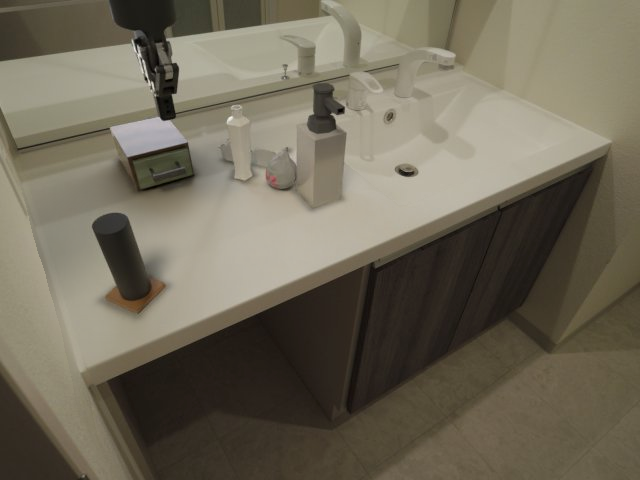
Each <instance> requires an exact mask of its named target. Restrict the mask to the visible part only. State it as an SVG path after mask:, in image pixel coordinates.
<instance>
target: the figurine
mask: <svg viewBox="0 0 640 480" xmlns="http://www.w3.org/2000/svg"><path fill="white" fill-rule="evenodd" d="M296 168H297V163H295V161H294V160H293V159H292V158H291V157H290V154H289V152H288V151H287V149H286V150H285V149H281V150H280V151H279V152H277V153H276V155H275V156H274V158H273V159H272V160H270V161H269V163H268V165H267V167H265V179H266V181H267V182H268V183H269V184H270V185H271V187H274V188H276V189H278V190H279V189H280V190H283V189H288V188H290V187H292V186H293V185H294V184H296Z"/></svg>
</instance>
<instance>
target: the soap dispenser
mask: <svg viewBox="0 0 640 480" xmlns="http://www.w3.org/2000/svg"><path fill="white" fill-rule="evenodd" d="M312 90H313V100H312V101H313V103H312V111H313V114H310V115H308V118H307V122H302V123H298V124H296V166H297V168H296V181H295V184H296V185H295V187H296V189H295V192H297V194H298V195H299V196H300V197H301V198H302V199H303V200H304V201H305V202H306V203H307V204H308V205H309V207H311V209H315V208H318V207H320V206H323V205H327V204H330V203H333V202H336V201H340V200H341V199H342V188H343V187H342V186H343V179H344V166H345V155H346V145H347V133H348V132H347V131H346V130H344V129H343V128H342V127H340V126H339V125H338V124H337V120H336V118H335V116H341V115H345V112H346V106H344V105H343V104H342V103H340V102H339V101H337V100H335V99H334V92H335V86H334V85H333V84H331V83H328V82H318V83H316V84H312ZM332 114H334V115H335V116H334V115H332Z"/></svg>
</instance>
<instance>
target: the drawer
mask: <svg viewBox="0 0 640 480" xmlns="http://www.w3.org/2000/svg"><path fill="white" fill-rule="evenodd" d="M132 163H133V166H134V170H135V173H136V176H137V180H138V183H139V186H140V188H141V189H142V190H145V189H144V188H146V189H148V188H147V187H149V188H152V187H151V186H153V187H156V186H159V185H158V184H160V185H163V184H166V183H165V182H167V183H170V182H173V181H172V180H174V181H177V180H180V179H179V178H181V179H184V178H183V177H185V178H188V177H191V176H190V175H192V176H194V175H193V174H192V168H191V163H190V158H189V153H188V149H187V148H186V147H185V148H178V149H174V150H170V151H166V152H162V153H158V154H154V155H150V156H146V157H142V158H138V159H134V160H133V161H132ZM187 176H188V177H187ZM176 179H177V180H176ZM169 181H170V182H169ZM162 183H163V184H162ZM155 185H156V186H155Z"/></svg>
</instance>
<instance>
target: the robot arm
mask: <svg viewBox="0 0 640 480" xmlns="http://www.w3.org/2000/svg"><path fill="white" fill-rule="evenodd" d="M107 2H108V6H109V9H110V12H111V17H112V20H113V23H114V24H115V25H116V26H117V27H118V28H120V29H123V30H125V31H130V32H131V31H132V32H133V35H134V38H131V39H130V40H131V43H130V44H131V47H132V48H133V50H134V54H135V56H136V59H137V62H138V64H139V67H140V71H141V73H142V75H143V80H144V81H145V83H146V84H148V89H149V91H150V92H151V93H152V97H153V100H154V104H155V108H156V113H157V117H160V119H161V120H162V121H167V120H170V121H171V120H172V121H173V120H175V119H176V118H177V112H176V108H175V104H174V98H173V95H177V93H178V87H179V86H178V85H179V77H180V76H179V75H180V67H179V65H178V63H177V62H173V60H172V56H173V49H172V44H171V42H170V40H167V37H166V34H165V31H166V29H168V28H171V27H173V26H175V25H176V23H177V22H178V13H177V8H176V3H175V2H176V1H175V0H107Z"/></svg>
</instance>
